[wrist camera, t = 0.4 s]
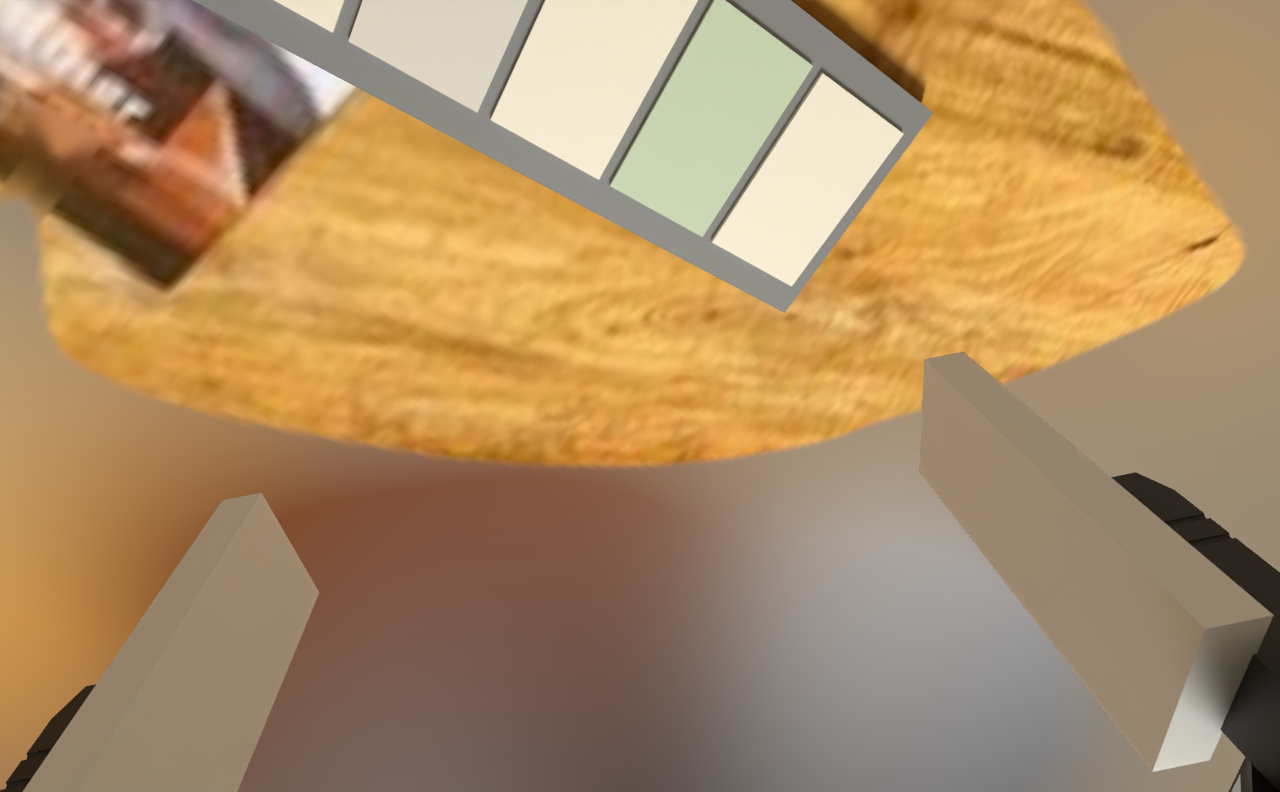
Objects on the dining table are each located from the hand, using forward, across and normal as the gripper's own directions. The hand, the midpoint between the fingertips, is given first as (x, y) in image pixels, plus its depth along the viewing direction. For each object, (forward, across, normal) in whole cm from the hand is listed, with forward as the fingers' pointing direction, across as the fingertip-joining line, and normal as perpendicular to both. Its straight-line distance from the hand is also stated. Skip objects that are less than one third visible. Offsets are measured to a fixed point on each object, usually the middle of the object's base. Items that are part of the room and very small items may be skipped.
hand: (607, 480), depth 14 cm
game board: (+22, +2, +6) cm, 23 cm away
